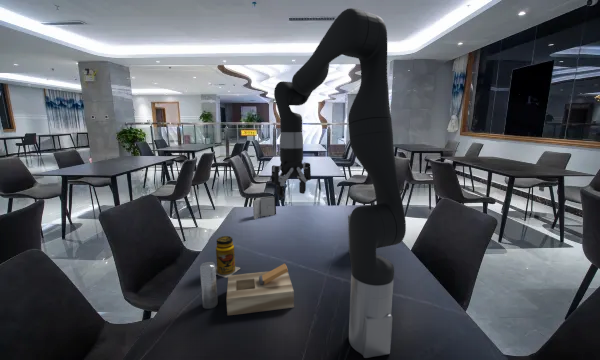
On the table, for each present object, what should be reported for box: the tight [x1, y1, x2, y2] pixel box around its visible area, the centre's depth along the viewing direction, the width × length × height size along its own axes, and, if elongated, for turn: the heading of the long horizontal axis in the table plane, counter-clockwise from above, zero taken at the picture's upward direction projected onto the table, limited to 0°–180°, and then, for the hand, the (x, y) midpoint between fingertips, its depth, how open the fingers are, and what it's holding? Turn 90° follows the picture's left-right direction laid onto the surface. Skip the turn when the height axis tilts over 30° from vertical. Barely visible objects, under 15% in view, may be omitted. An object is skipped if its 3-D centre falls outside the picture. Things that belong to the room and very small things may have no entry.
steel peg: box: [199, 261, 218, 310], centre depth 81 cm, size 4×4×12 cm
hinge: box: [252, 195, 277, 220], centre depth 158 cm, size 14×5×10 cm, turn 124°
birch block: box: [226, 270, 295, 317], centre depth 84 cm, size 12×18×5 cm, turn 101°
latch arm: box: [259, 263, 289, 285], centre depth 84 cm, size 9×3×1 cm, turn 101°
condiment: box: [215, 235, 241, 279], centre depth 99 cm, size 7×8×12 cm
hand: (291, 194), depth 97 cm, fingers open, 8 cm apart
